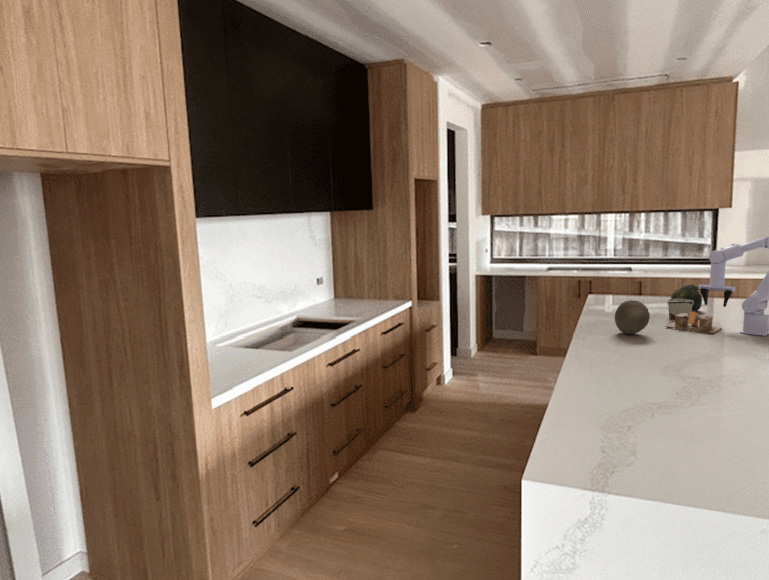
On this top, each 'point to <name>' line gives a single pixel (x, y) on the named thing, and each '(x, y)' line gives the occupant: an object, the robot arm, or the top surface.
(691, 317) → the orange step-cut beam
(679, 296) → the squash
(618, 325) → the cantaloupe
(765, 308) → the robot arm
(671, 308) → the food container
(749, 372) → the top surface
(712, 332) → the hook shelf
